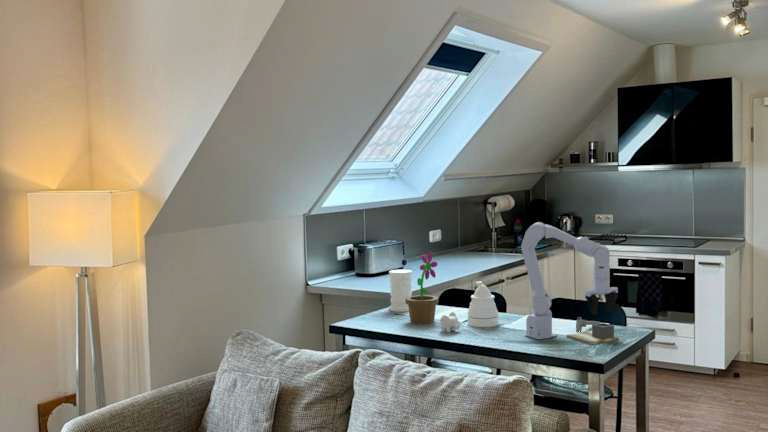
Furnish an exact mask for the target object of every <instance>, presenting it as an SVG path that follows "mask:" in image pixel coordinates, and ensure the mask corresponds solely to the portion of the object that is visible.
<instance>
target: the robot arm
mask: <svg viewBox="0 0 768 432" xmlns="http://www.w3.org/2000/svg"><path fill="white" fill-rule="evenodd" d="M523 236H524V237H523V239H522V242H521V246H520V247H521V253H522V256H523V260H524V264H525V267H526V268H525V269H526V272H527V276H528V279H529V284H530V286H531V291H532V292H531V293H532V294H531V295H532V299H533V300H532V301H533V302H532V309H533V311H532V314H531V315H528V316H527V317H526V322H525V323H526V333H525V336H526V337H529V338H533V339H536V340H541V339H548V338H549V339H550V338H553V337H558V335H557V334H555V333H553V321H552V320H553V319H552V318H553V313H552V310H551V309H550V308H551V307H552V299H551V297H550V296H549V295H548V292H547V289H546V287H545V283H544V280H543V277H542V273H541V269H540V265H539V261H538V257H537V254H536V249H535V248H536V246H537V244H538V243H539V241H541V240H542V239H543V238H545V239H551V238H552V239H554V238H555V240H556V239H557V240H559V241H562V242H564V243H566V244H569V245H571V246H573V248H574V250H575V251H576V252H579V253H582V254H583V255H585V256H588V257H589V258H594V259H593V260H594V265H593V288H591V289H588V290H585V291H584V292H585V293H584V294H585V297H584V298H585V299H586V301H587V303H588V306H589V309H590V313H591V315H594V316H597V315H598V305H599V301H600V297H598V296H599V295H604V299H605V310H606V313H612V312H613V308H614V305H615V303H616V301H617V299H618V297H619V294H618V293H619V288H618V287H617V286H611V285H610V283H611V279H610V277H611V275H610V274H611V273H610V271H611V269H610V267H611V266H610V256H611V252H610V249H609V248H608V247H607V246H606V245H604V244H601V243H600V242H595V241H593V240H590V239H589V237H587V236H584V237H583V236H579V237H576V236H574V235H571V234H570V233H567V232H566V231H564V230H561V229H559V228H558V227H555V226H553V225H550V224H547V223H546V224H545V223H544V222H542V221H537V222H535V223H533V224H532V225H530V226H529V227H528V228H527V229H526V231H525V234H524V235H523ZM610 286H611V287H610Z"/></svg>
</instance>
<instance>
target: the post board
mask: <svg viewBox="0 0 768 432" xmlns="http://www.w3.org/2000/svg"><path fill="white" fill-rule="evenodd" d="M602 327H604V326H602ZM567 337H568V338H567ZM566 338H567V339H570V338H572V339H571V340H574V339H575V340H574V341H577V340H578V341H577V342H581V343H584V342H585V344H588V345H595V344H601V343H606V342H612V341H618V340H619V339H620V338H619V336H616V335H614V338H608V339H600V338H596V337H592V330H588V331H581V332H579V333H576V332H575V333H571V334H570V333H569V334H566Z"/></svg>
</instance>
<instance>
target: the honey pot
mask: <svg viewBox="0 0 768 432" xmlns="http://www.w3.org/2000/svg"><path fill="white" fill-rule="evenodd" d="M475 283H476V286H477V287H476V289H475V291H474V293H473V294H471V296H470V299H471V301H470V302H469V307H468V310H467V325H468V324H469V325H468V326H470V325H471V327H477V328H478V327H479V328H491V327H496V326H498V325H499V310H498V308H497V306H496V303H495V298H496V297H495V295H494V294H492V293H491V291H490V290H489V288H488V287H487V286H486V285H485V284H483V281H476V282H475Z"/></svg>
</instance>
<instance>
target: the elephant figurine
mask: <svg viewBox="0 0 768 432" xmlns="http://www.w3.org/2000/svg"><path fill="white" fill-rule="evenodd" d="M448 315H449V316H447V315H442V316H441V317H440V319H439V322H440V329H441V332H443V333H451V332H453V331H458V330H459V329H460V328H461V327H463V324H462V323H460V322H459V319H458V317H457V315H456V313H455V312H453V311H452V312H450V313H449V314H448ZM460 326H461V327H460Z"/></svg>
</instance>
